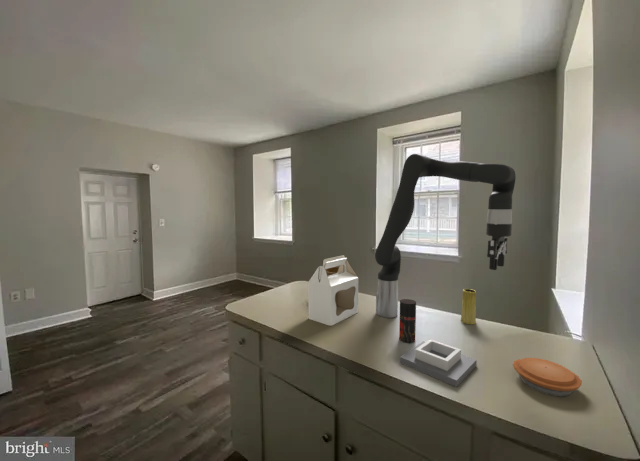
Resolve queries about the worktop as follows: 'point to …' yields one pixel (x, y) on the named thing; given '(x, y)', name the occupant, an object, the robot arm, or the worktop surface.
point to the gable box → (333, 292)
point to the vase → (468, 306)
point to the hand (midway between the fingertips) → (496, 267)
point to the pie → (547, 376)
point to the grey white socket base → (439, 361)
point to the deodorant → (407, 320)
